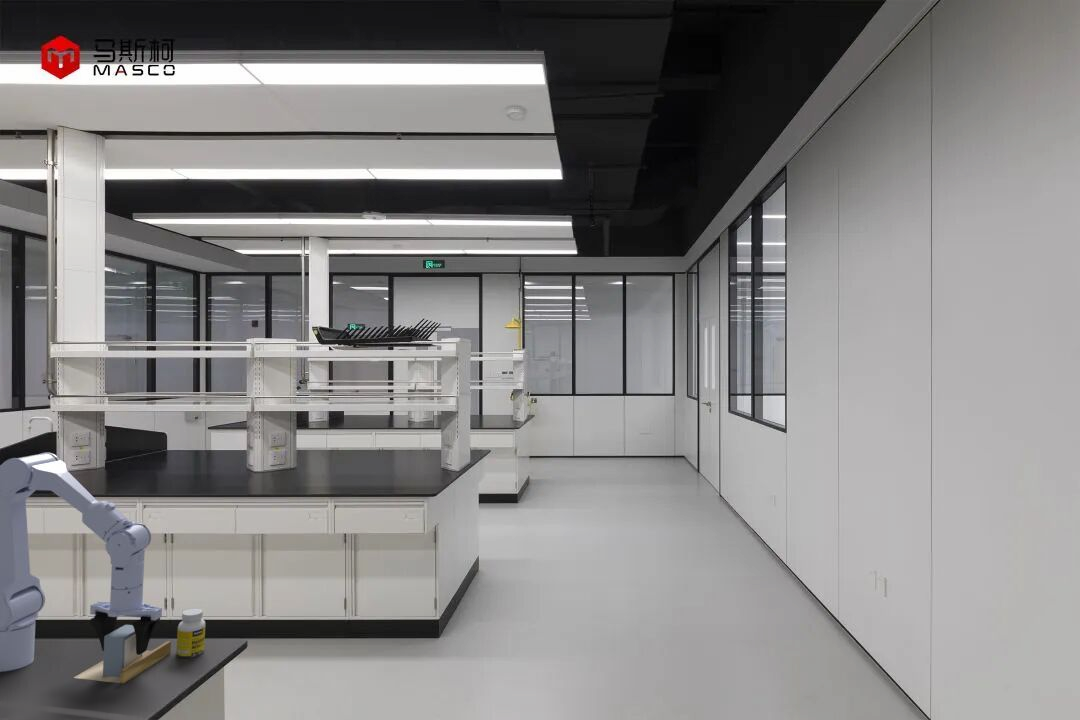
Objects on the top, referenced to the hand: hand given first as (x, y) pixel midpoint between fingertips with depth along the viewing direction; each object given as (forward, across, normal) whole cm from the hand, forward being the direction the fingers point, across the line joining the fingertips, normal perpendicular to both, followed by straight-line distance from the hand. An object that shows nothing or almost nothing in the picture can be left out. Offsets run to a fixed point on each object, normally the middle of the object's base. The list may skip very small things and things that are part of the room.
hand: (124, 650), depth 139 cm
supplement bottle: (+5, +8, +10) cm, 14 cm away
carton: (+4, 0, 0) cm, 4 cm away
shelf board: (+5, -2, +2) cm, 5 cm away
